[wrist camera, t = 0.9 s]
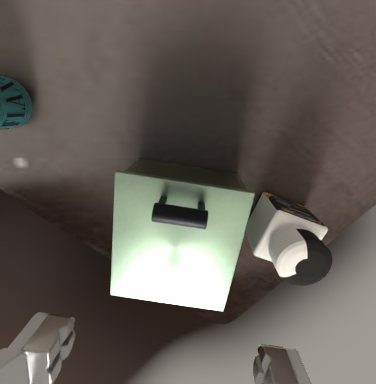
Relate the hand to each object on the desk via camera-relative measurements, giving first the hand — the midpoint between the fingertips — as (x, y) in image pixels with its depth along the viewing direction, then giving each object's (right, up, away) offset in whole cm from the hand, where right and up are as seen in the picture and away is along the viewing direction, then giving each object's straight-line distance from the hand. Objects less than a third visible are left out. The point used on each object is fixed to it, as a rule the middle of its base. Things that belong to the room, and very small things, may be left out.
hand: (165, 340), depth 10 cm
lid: (0, 0, +17) cm, 17 cm away
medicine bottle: (+14, +3, +26) cm, 30 cm away
